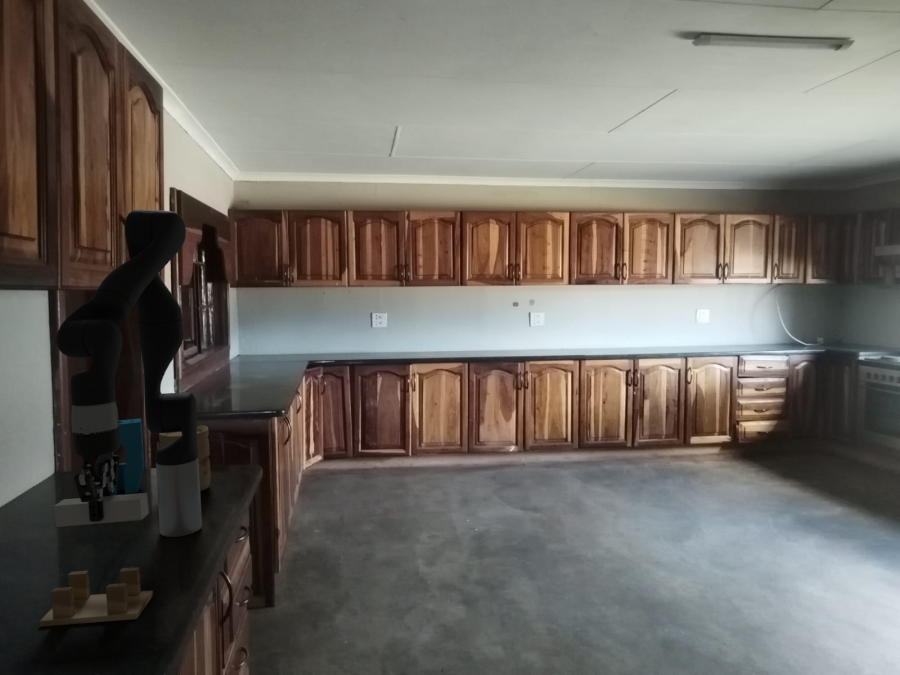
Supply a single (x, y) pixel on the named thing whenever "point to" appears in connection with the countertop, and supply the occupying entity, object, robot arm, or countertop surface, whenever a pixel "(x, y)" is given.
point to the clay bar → (113, 508)
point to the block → (130, 456)
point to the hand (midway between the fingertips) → (101, 516)
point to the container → (202, 451)
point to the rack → (97, 600)
